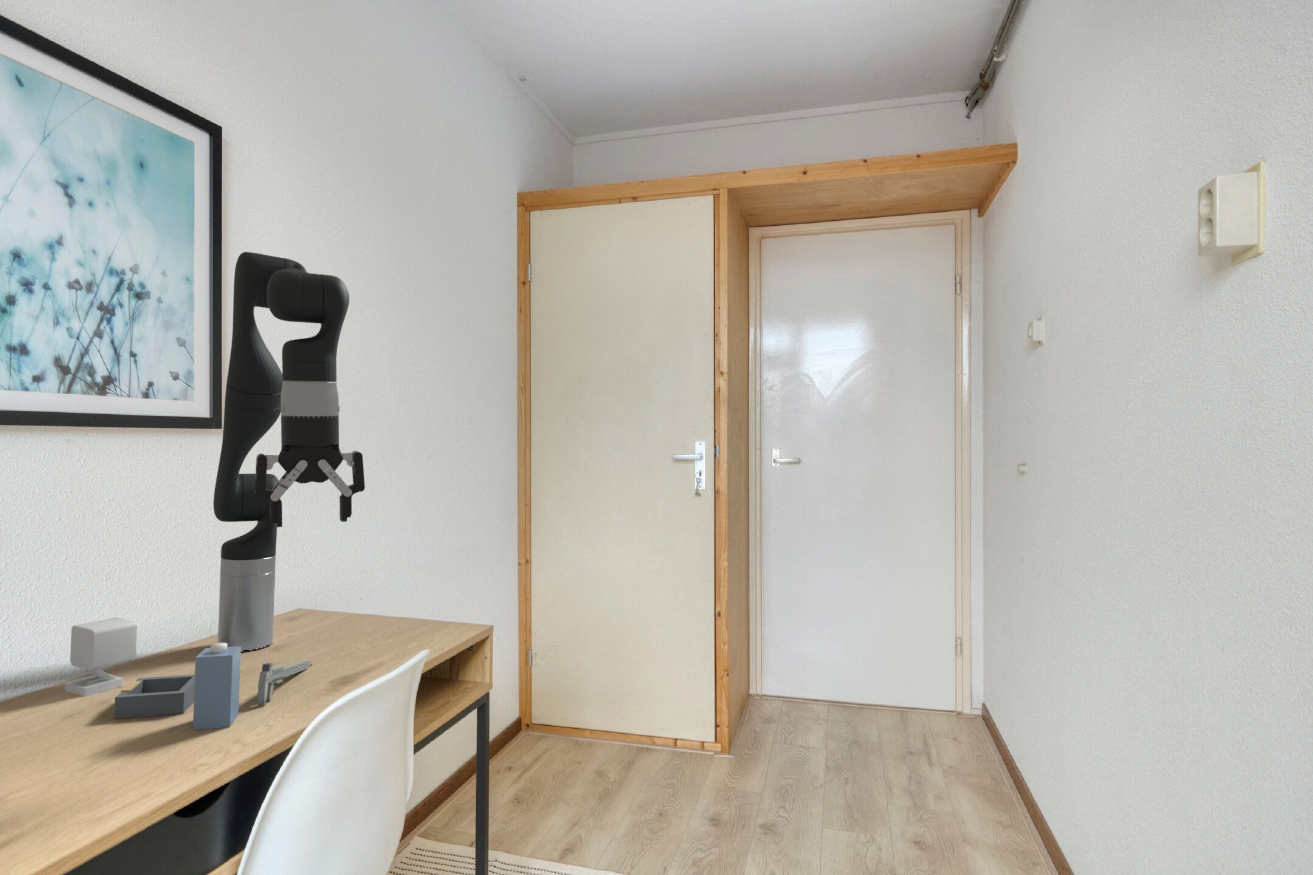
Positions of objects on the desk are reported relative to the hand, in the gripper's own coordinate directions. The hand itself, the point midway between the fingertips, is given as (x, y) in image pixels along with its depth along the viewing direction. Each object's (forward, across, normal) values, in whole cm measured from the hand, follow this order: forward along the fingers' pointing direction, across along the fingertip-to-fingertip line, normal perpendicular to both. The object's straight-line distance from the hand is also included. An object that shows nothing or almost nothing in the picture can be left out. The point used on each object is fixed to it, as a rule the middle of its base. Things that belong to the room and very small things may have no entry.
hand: (311, 523), depth 102 cm
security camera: (+29, +28, -27) cm, 48 cm away
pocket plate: (+28, +19, -13) cm, 36 cm away
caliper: (+30, +2, -15) cm, 33 cm away
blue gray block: (+28, +12, -2) cm, 30 cm away
